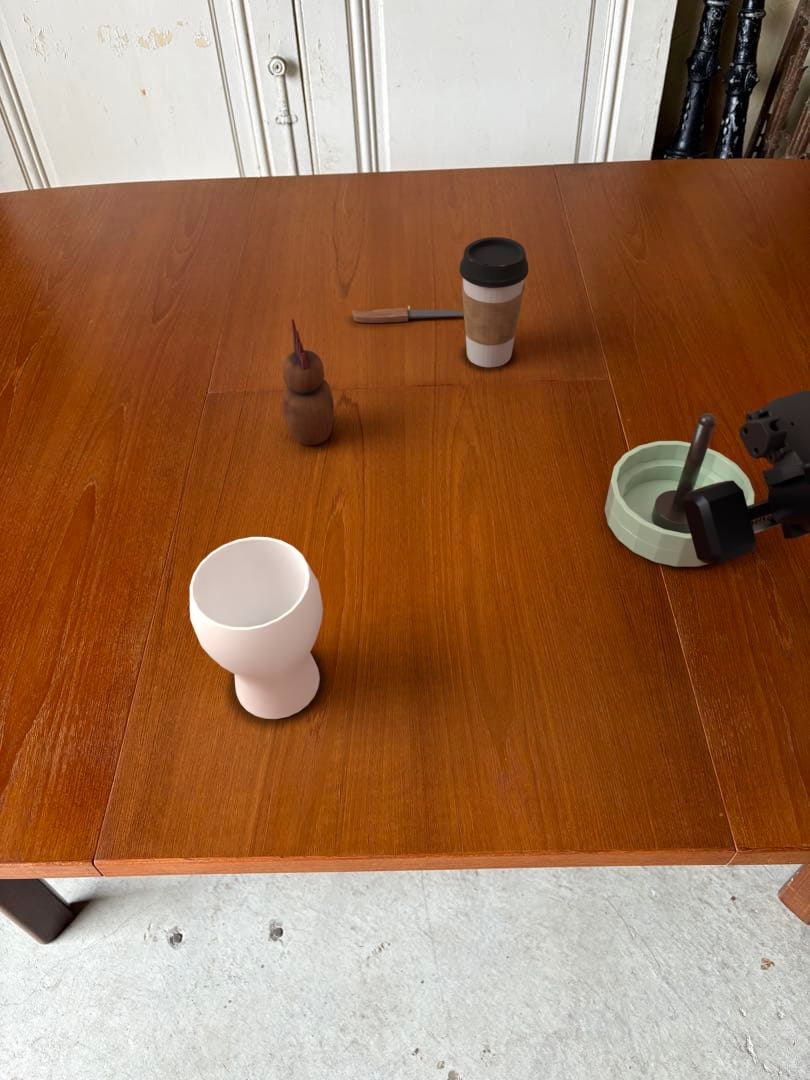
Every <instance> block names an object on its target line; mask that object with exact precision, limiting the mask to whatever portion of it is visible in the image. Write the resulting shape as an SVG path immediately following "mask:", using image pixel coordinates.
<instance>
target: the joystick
mask: <svg viewBox="0 0 810 1080" xmlns="http://www.w3.org/2000/svg"><path fill="white" fill-rule="evenodd" d="M716 424H717V418H716V416H715V415H713V414H712V413H710V412H705V413H702V414H701V415H700V416H699V417H698V419H697V423H696V426H695V429H694V432H693V435H692V438H691V442H690V443H691V445H690V448H689V451H688V455H687V458H686V461H685V464H684V467H683V471H682V474H681V477H680V480H679V484H678V487H677V490H670V491H666V492H664V493H662V494H660V495H659V496H658V497H657V499H656V501H655V505H654V508H653V512H652V521H653V523H654V525H656V526H658V527H660V528H663V529H666V530H670V531H675V532H680V533H685V534H691V533H690V529H689V526H688V522H687V518H686V515H685V511H684V507H683V503H682V500H683V498H684V496H685V494H686V493H687V492H690V491H693V490H694V487H695V484H696V481H697V478H698V475H699V472H700V469H701V466H702V463H703V460H704V457H705V454H706V451H707V448H709V445H710V442H711V439H712V436H713V434H714V430H715V427H716Z"/></svg>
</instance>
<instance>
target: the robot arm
mask: <svg viewBox="0 0 810 1080" xmlns="http://www.w3.org/2000/svg"><path fill="white" fill-rule="evenodd" d="M739 437H740V439H741V441H742V443H743V445H744V447H745V449H746V451H747V453H748V455H749V456H750V458H752V459H754V460H759V459H761V458H762V459H765V460H766V461H767V463H769V464H770V465H772V467H768V468H766V469H765V468H764V469H762V470H761V472H762V476H763V481H764V484H765V486H766V487H767V499H764V500H761V501H757V502H754V504H752V505H749V506H747V503H746V499H745V496H744V492H743V490H742V489H741V488H740V487H739V486H738V485H737V484H736V483H735V482H734V481H733V480H731V481H724V482H718V483H715V484H711V485H708V486H705V487H702V488H699V489H696V490H693V491H690V492H687V493H686V494H685V496H684V498H683V500H682V503H683V507H684V511H685V515H686V518H687V522H688V526H689V529H690V533H691V537H692V541H693V544H694V548H695V552H696V556H697V559H698V560H700V561H702V562H703V563H707V564H706V565H710V564H711V565H720V564H723V563H726V562H728V561H731V560H733V559H737V558H739V557H742V556H745V555H748V554H751V553H753V552H754V549H755V546H756V544H757V538H756V535H755V534H757V533H760V532H763V531H766V530H769V529H771V528H775V527H776V526H777V527H778V526H781V530H782V534H783V538H784V540H794V539H796V538H800V537H803V536H805V535H809V534H810V390H808V389H807V390H806V389H805V390H800V391H797V392H794V393H790V394H788V395H784V396H782V397H777V398H774V399H772V400H771V401H769V402H768V403H767V404H766V405H765V406H764V407H762V408H759V409H756V410H754V411H751V412H748V413H746V414H745V423H744V424H743V425H742V426H741V427H740V428H739Z"/></svg>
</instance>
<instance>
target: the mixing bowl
mask: <svg viewBox="0 0 810 1080" xmlns="http://www.w3.org/2000/svg"><path fill="white" fill-rule="evenodd" d="M690 445H691V442H687V441H681V440H658V441H653V442H648V443H644V444H641V445H637V446H636V447H634V448H633V449H632V448H631V450H629V451H627V452H625V453H624V454H623V455H622V456H621V457H620V459H619V460H618V461H617V462H616V464H615V465H614V466H613V470H612V474H611V479H610V483H609V487H608V492H607V496H606V501H605V506H604V513H605V517H606V522H607V525H608V527H609V528H610V530H611V531H612V533H613V534H614V536H615V538H616V539H617V540H618V541H619V542H620V543H622V544H623V545H624V546H625V547H626V548H628V549H629V550H630V551H632V552H633V553H634V554H637V555H638V556H641V557H643V558H645V559H647V560H649V561H651V562H653V563H657V564H661V565H662V564H663V565H666V566H671V567H675V568H676V567H678V568H682V567H684V568H685V567H686V568H687V567H692V568H693V567H702V566H705V565H708V564H707V563H703V562H702V561H700V560H698V559H697V556H696V552H695V548H694V544H693V541H692V537H691V534H685V533H680V532H675V531H670V530H666V529H663V528H660V527H658V526H656V525H654V523H653V521H652V512H653V508H654V505H655V501H656V499H657V497H658V496H659V495H660V494H662V493H664V492H666V491H670V490H677V487H678V484H679V480H680V477H681V474H682V471H683V467H684V464H685V461H686V458H687V455H688V451H689V448H690ZM731 480H733V481H734V482H735V483H736V484H737V485H738V486H739V487H740V488H741V489H742V490H743V492H744V496H745V499H746V503H747V506H749V505H752V504H755V491H754V488H753V486H752V483H751V481H750V479H749V477H748V476H747V474H746V473H745V472H744V471H743V470H742V469H741V468H740V466H739V465H738V464H737V463H736V462H734V461H732V460H731V459H730V458H728V457H726V456H725V455H723V453H721V452H718V451H716V450H714V449H712V448H709V447H708V448H707V451H706V454H705V457H704V460H703V463H702V466H701V469H700V472H699V475H698V478H697V481H696V484H695V487H694V490H696V489H699V488H702V487H705V486H708V485H711V484H715V483H718V482H724V481H731Z"/></svg>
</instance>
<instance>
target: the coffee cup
mask: <svg viewBox="0 0 810 1080" xmlns="http://www.w3.org/2000/svg"><path fill="white" fill-rule="evenodd" d="M526 252H527V251H526V249H525V247H524V246H523V245H522V244H521V243H520V242H518V241H516V240H514V239H511V238H507V237H501V236H490V237H489V236H488V237H483V238H479V239H477V240H476V239H475V240H474V241H472V242H471V243H469V244H467V246H466V247H465V249H464V250H463V256H462V258H461V260H460V263H459V275H460V276H461V277H462V282H461V293H462V294H461V295H462V296H461V297H462V306H463V312H464V316H463V318H464V332H465V344H466V345H465V346H466V347H465V348H466V357H467V358H468V360H469V361H470V362H471V363H472V364H474V365H476V366H479V367H483V368H497V367H501V366H504V365H505V364H507V363H508V362H509V361H510V359H511V358H512V354H513V349H514V344H515V343H514V342H515V337H516V332H517V327H518V321H519V318H520V317H519V316H520V312H521V306H522V301H523V296H524V292H525V284H524V282H525V279H526V278H527V276H528V274H529V262H528V260H527V253H526Z"/></svg>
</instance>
